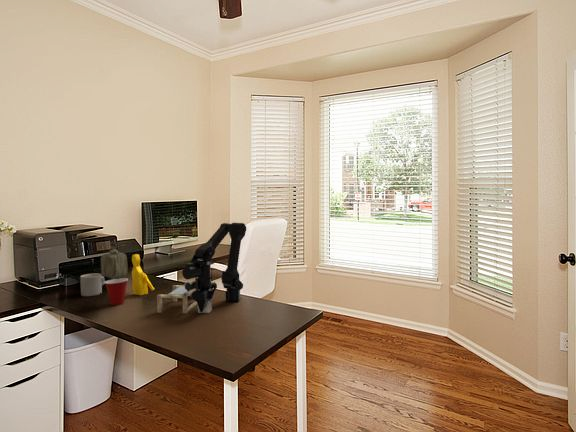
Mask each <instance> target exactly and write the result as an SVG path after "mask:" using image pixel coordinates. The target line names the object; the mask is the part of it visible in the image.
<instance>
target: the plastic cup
mask: <svg viewBox="0 0 576 432" xmlns="http://www.w3.org/2000/svg"><path fill="white" fill-rule="evenodd" d="M128 281H129V278H127V277H126V278H125V277H123V278H115V279H113V280H111V279H108V280H105V282H104V285H105V288H106V291H107V295H108V299H109V304H110V305H111V306H113V305H115V306H120V305H123V304H124V303H125V298H126V292H127V291H126V290H127V285H128Z"/></svg>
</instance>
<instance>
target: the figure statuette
mask: <svg viewBox="0 0 576 432" xmlns="http://www.w3.org/2000/svg"><path fill="white" fill-rule="evenodd" d="M131 262H132V265H133V267H132V270H131V277H132V284H131V288H132V294H133V295H137V296H143V295H148V294H149V289H150V291H151V292H152V291H154V290H155V287H153V284H152V283H151V281H150V280H149V278H148V276H147V274H146V273H144V272H143V269H142V267H141V257H140V254H138V253H135V254H132V256H131ZM148 287H149V288H148Z"/></svg>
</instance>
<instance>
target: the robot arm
mask: <svg viewBox="0 0 576 432" xmlns="http://www.w3.org/2000/svg"><path fill="white" fill-rule="evenodd" d="M246 232H247V226H246V224H245V223H243V222H231V223H230V222H229V223H228V222H223V223H221V224H220V225H219V228H218V229H217V230H216V231H215V232H214V233H213V235H212V236H211V237H210V238H209V239H208V240H207V241H206V242H204V243H202V244H200V246H198V247H197V248H196V249H195V251H194V254H193V256H192V258H191V260H190V262H189V263H188V262H187V263H185V265H184V266H183V268H182V271H181V274H182V277H183V278H184V279H185V280H191V279H195V280H193V281H192V282H188V281H187V282H188V283H186V282H185V283H186V285H185V289H186V290H187V292H188V291H190V290H193V289H195V288H196V290H195V291H194V292H193V293H192V294H191V297H190V299H192V300H193V301H194V302H195V301H196V302H197V304H196V305H197V308H198V307H199V310H200V312H203V310H204V307H205V303H206V300H207V299H212V300H213V297H214V295H215V293H216V290H217V288H218V284H217V283H216V282H213V281H212V279H213V276H212V273H211V272H212V271H211V269H212V268H211V265H214V264H215V262H214V261H213V260H212V259H213V257H214V255H215V253H216V249H217V247H218V246H219V245H220V244H221V242H222V241H223V240H224V239H225V238H226V236H227V235H229V237H230V246H229V253H228V260H227V267H226V269H225V270H222V272H221V278H220V280H221V284H222V286H223V288H224V289H226V291H225V302H226V303H239V302H240V301H241V299H242V297H241V290H243V288H244V283H242V281H241V280H240V273H239V271H238V265H239V257H240V253H241V252H240V251H241V242H242V240H243V239H244V237H245V236H246Z"/></svg>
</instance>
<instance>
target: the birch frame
mask: <svg viewBox="0 0 576 432" xmlns="http://www.w3.org/2000/svg"><path fill="white" fill-rule="evenodd" d="M180 286H183V287H185V285H184V284H183V285H181V284H180V285H176V284H173V285H172V291H174V290H176V289H177V288H179V287H180ZM195 290H196V288H195V289H193V290H191V291H189V292H188V293H187V294H185V295H168V294H162V293H161V294H160V293H158V294H157V295H156V302H157V303H156V305H157V308H156V310H157V313H158V314H159V313H160V314H162V312H163V298H169V299H171V298H172V303H175V302H178V299H182V314H188V312H190V311H191V310H192V309H193V308H194V307H195V306H196V305H198V304H197V302H196V301H195V300H194V302H193V303H191V304H190V305H188V297H190V296H189V295H190V294H192V293H193V292H194V291H195Z"/></svg>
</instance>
